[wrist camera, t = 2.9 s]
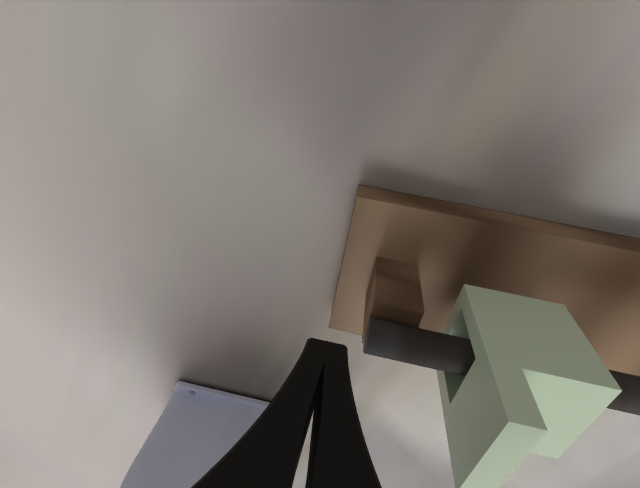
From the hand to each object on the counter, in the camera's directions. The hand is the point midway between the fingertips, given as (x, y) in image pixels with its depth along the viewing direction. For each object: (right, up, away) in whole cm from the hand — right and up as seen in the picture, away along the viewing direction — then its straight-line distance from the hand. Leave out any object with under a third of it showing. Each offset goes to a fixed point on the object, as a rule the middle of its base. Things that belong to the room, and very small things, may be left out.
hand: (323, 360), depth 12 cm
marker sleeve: (+7, 0, +3) cm, 8 cm away
